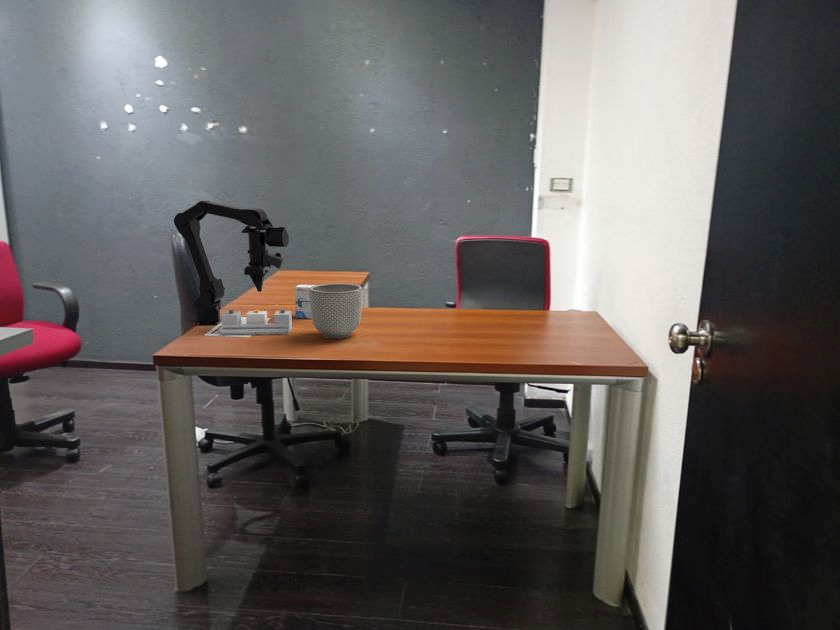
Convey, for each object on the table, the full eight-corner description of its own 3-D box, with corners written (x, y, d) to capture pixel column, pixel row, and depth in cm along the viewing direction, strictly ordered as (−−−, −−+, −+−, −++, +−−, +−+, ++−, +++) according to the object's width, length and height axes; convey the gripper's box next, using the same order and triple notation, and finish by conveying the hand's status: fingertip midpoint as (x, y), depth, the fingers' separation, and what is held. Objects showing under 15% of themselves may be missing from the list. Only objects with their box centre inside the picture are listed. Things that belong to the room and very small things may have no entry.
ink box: (295, 318, 227) (294, 286, 224) (299, 315, 232) (298, 284, 229) (318, 319, 226) (317, 287, 224) (321, 315, 231) (320, 284, 228)
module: (247, 331, 207) (245, 312, 206) (250, 328, 212) (249, 308, 211) (265, 331, 208) (264, 311, 206) (267, 328, 213) (266, 308, 211)
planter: (318, 345, 191) (317, 294, 188) (304, 332, 207) (302, 285, 203) (371, 339, 199) (370, 290, 195) (353, 327, 214) (352, 281, 210)
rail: (220, 335, 202) (219, 326, 202) (222, 333, 205) (222, 324, 205) (288, 334, 204) (288, 325, 203) (289, 332, 207) (289, 323, 206)
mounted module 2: (274, 332, 206) (273, 311, 205) (277, 328, 212) (276, 308, 211) (289, 332, 207) (288, 311, 205) (291, 327, 213) (291, 307, 211)
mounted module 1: (222, 333, 205) (221, 312, 204) (226, 328, 211) (225, 308, 209) (237, 332, 206) (236, 312, 204) (241, 328, 211) (240, 308, 210)
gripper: (277, 249, 201) (279, 296, 205) (285, 243, 219) (287, 286, 223) (242, 249, 200) (245, 297, 204) (253, 243, 218) (255, 287, 222)
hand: (259, 291), depth 213 cm, fingers closed
